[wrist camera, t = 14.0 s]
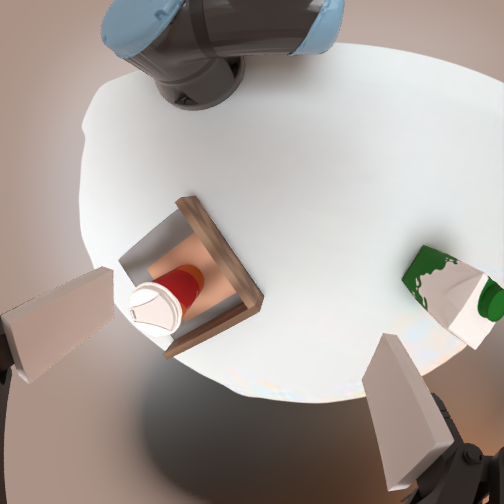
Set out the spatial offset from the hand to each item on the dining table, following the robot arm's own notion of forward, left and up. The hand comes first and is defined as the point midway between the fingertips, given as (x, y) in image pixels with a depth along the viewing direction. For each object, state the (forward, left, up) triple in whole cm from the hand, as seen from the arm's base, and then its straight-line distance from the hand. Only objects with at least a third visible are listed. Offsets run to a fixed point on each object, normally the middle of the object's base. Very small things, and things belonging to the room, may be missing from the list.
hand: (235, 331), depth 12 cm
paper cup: (-1, -17, -31) cm, 35 cm away
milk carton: (+20, +18, -32) cm, 42 cm away
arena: (-2, -18, -32) cm, 36 cm away
